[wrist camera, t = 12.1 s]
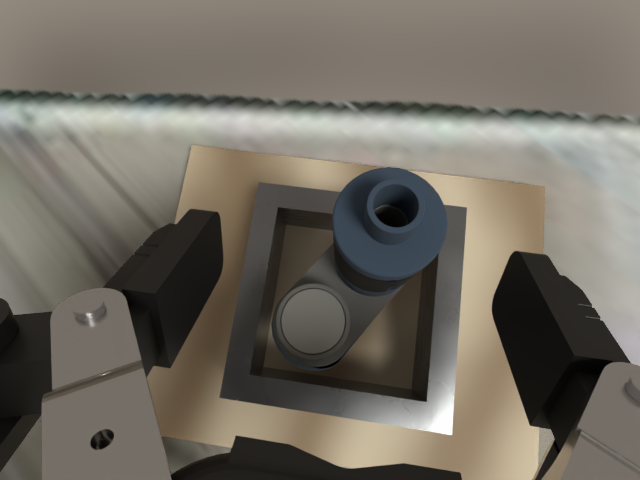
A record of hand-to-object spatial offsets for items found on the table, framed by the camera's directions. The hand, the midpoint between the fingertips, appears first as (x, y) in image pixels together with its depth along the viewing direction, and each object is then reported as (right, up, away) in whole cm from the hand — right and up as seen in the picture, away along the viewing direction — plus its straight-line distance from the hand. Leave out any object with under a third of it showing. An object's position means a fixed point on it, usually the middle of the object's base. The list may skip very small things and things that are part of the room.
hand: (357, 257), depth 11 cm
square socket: (0, -3, +9) cm, 9 cm away
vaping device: (0, -3, +8) cm, 8 cm away
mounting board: (0, -3, +9) cm, 9 cm away
